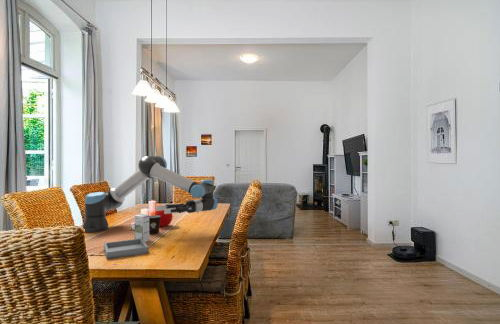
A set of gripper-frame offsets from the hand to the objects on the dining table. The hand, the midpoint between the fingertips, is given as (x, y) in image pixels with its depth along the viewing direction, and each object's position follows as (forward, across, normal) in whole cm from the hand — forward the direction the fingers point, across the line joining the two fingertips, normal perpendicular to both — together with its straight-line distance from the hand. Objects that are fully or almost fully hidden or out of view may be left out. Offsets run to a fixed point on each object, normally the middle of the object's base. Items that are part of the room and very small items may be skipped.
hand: (159, 210), depth 172 cm
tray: (+22, -12, -16) cm, 30 cm away
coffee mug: (0, +16, -16) cm, 23 cm away
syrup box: (+10, 0, -16) cm, 19 cm away
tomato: (-14, +29, -16) cm, 36 cm away
